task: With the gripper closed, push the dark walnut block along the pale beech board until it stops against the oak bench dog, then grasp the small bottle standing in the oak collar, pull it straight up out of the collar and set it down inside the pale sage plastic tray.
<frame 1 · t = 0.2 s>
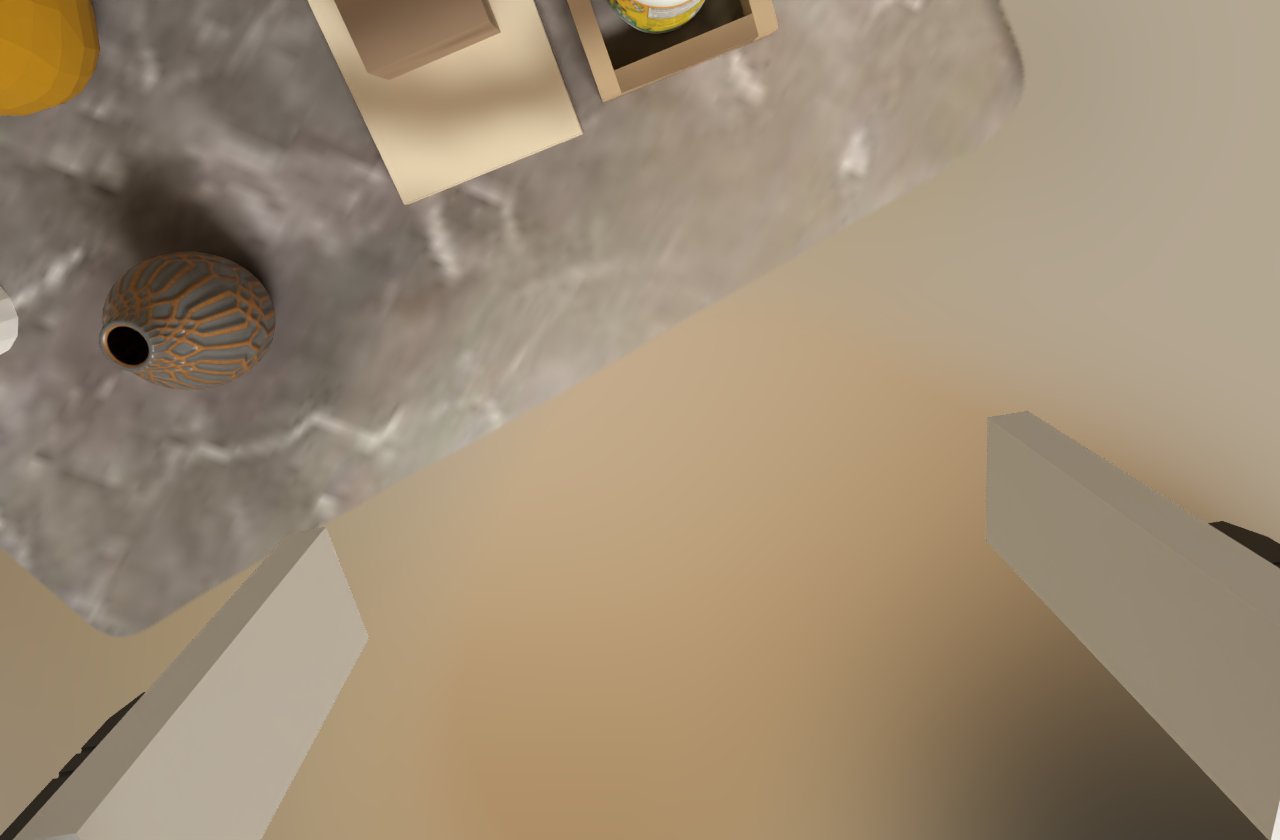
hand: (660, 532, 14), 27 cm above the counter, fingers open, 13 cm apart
vase: (234, 306, 39), on the counter
apple: (66, 23, 34), on the counter
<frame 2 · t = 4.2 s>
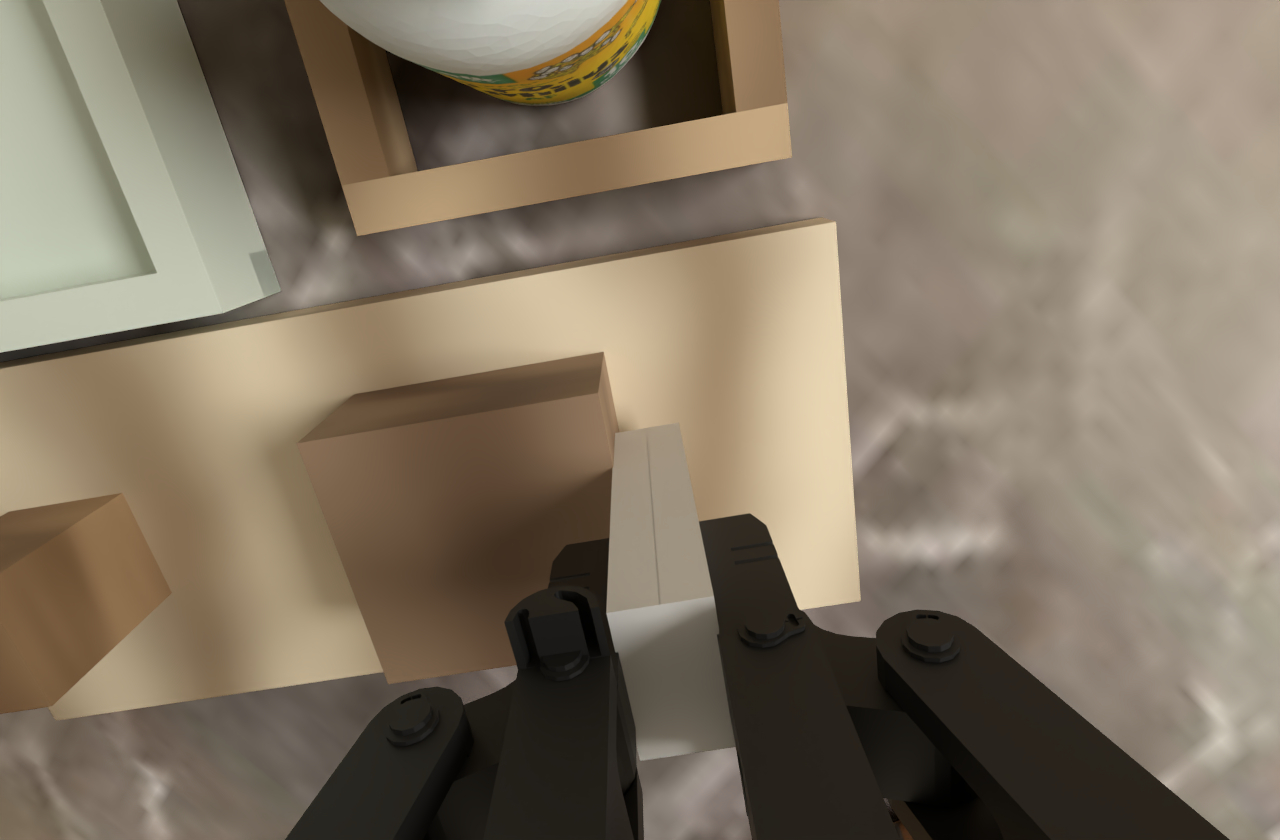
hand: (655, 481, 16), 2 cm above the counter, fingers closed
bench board: (407, 483, 18), on the counter
walnut block: (508, 486, 17), point 1 cm above the counter, touching gripper
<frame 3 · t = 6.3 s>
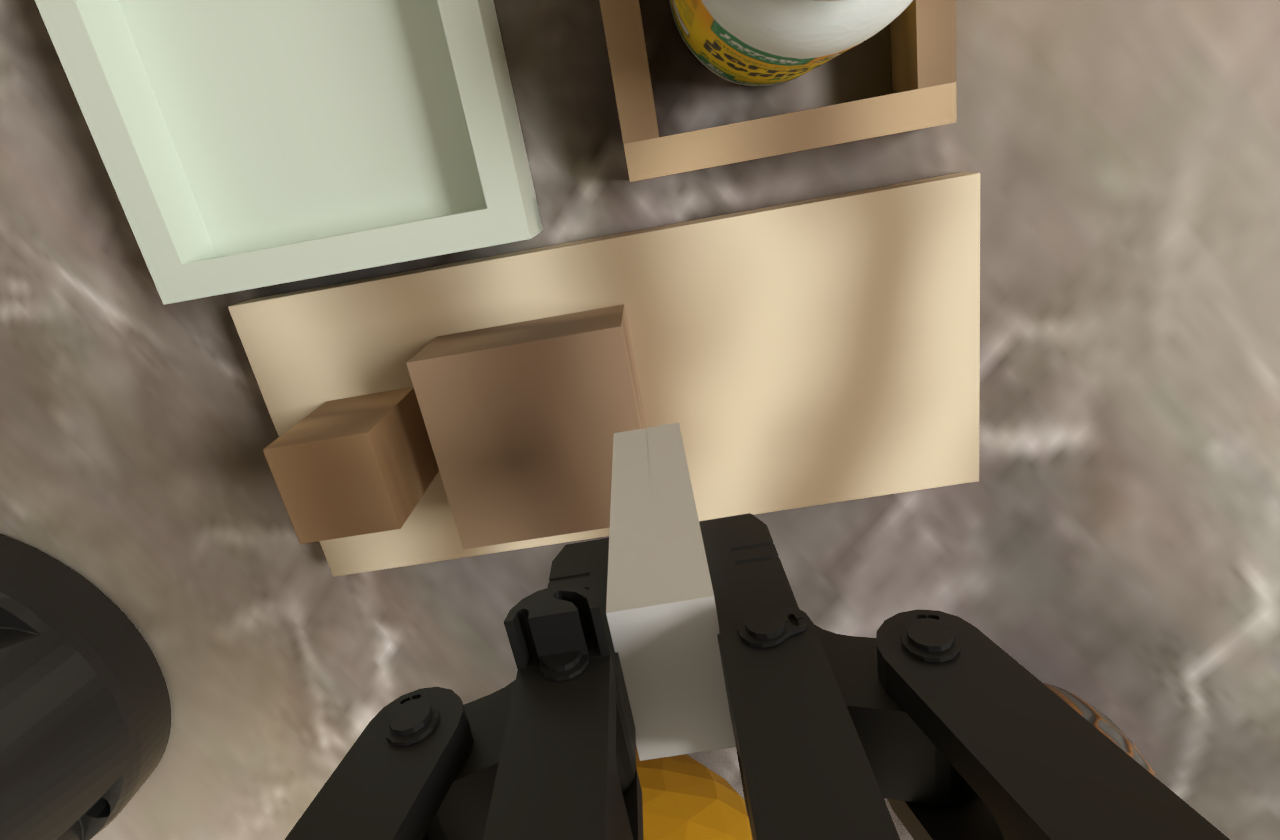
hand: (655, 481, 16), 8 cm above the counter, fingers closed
vase: (998, 714, 29), on the counter
tray: (318, 71, 20), on the counter
apple: (646, 759, 30), on the counter
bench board: (621, 386, 23), on the counter
walnut block: (550, 409, 22), point 1 cm above the counter, touching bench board
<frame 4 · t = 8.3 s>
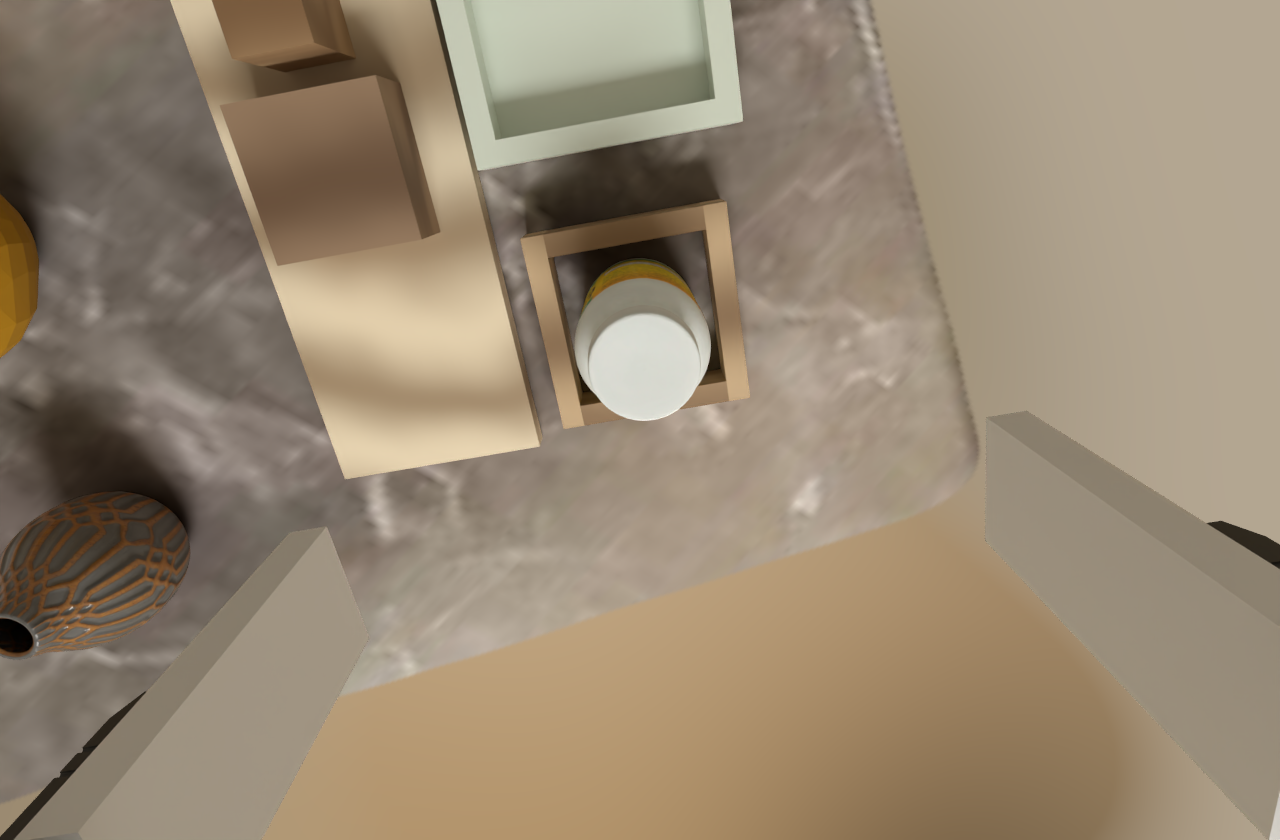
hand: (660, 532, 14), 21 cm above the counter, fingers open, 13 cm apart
supplement bottle: (639, 311, 33), resting in oak collar
vase: (148, 528, 37), on the counter
tray: (585, 5, 28), on the counter
apple: (9, 247, 31), on the counter
oak collar: (639, 312, 33), on the counter
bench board: (379, 225, 31), on the counter
walnut block: (353, 173, 29), point 1 cm above the counter, touching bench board
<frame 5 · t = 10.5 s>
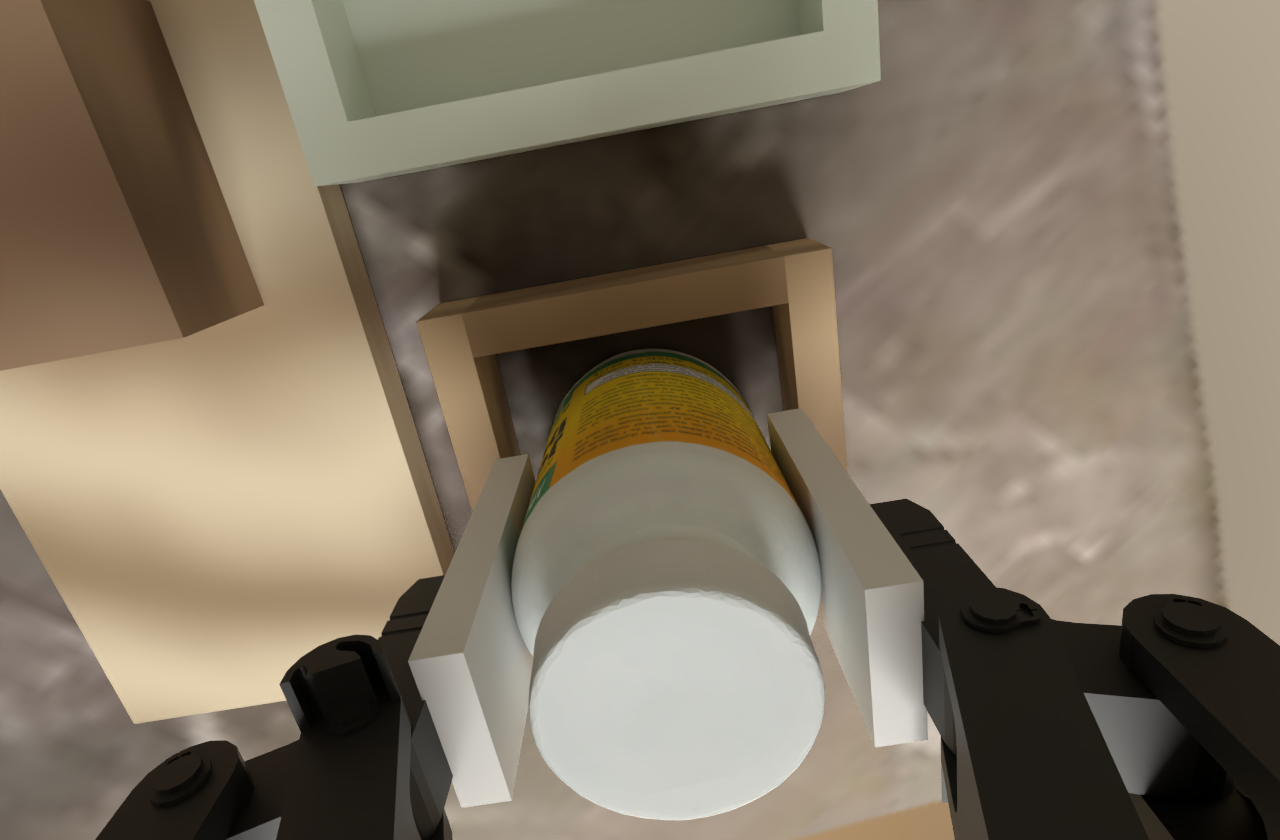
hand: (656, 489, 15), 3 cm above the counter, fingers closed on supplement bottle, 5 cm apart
supplement bottle: (652, 438, 18), resting in oak collar, touching gripper
oak collar: (652, 440, 18), on the counter
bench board: (158, 289, 16), on the counter
walnut block: (75, 190, 14), point 1 cm above the counter, touching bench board
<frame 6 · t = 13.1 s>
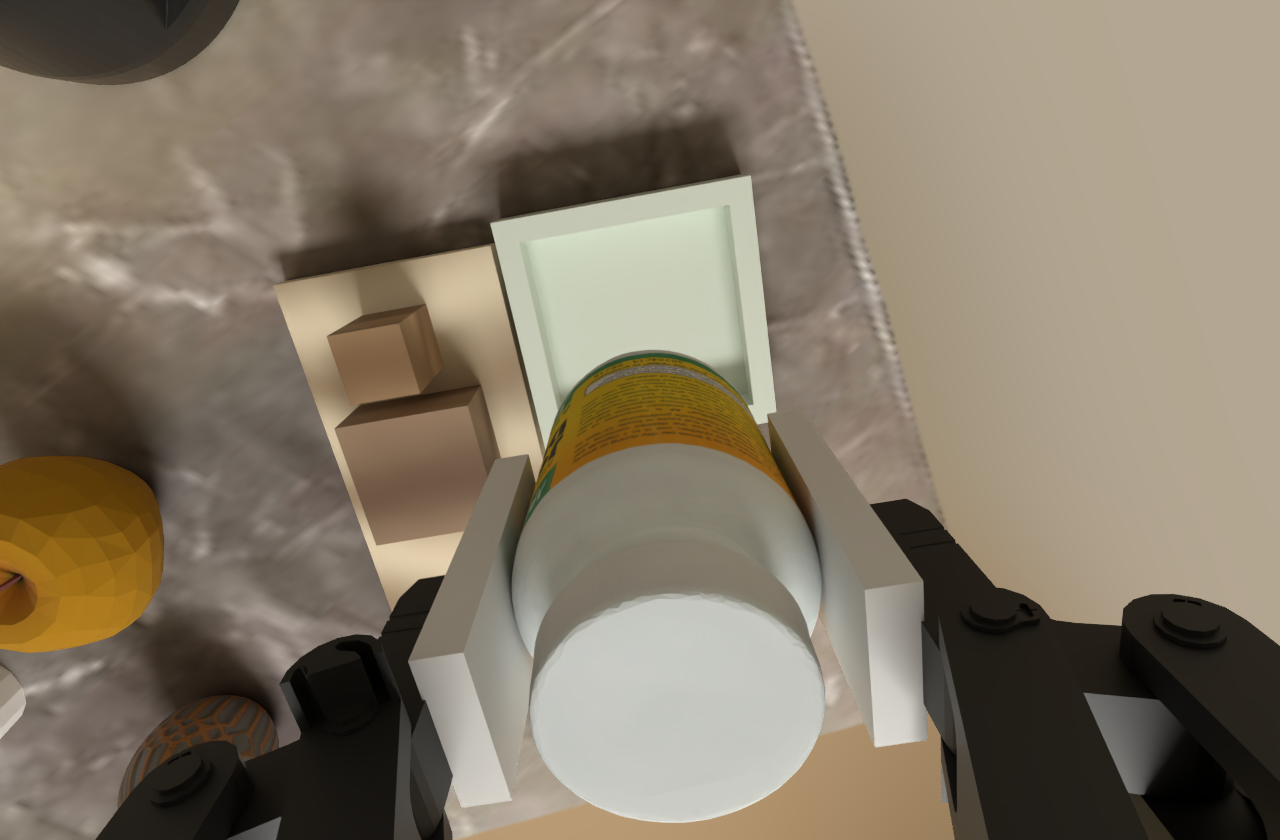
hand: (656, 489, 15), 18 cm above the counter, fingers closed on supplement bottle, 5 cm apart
supplement bottle: (652, 439, 18), point 15 cm above the counter, touching gripper
vase: (239, 718, 41), on the counter
tray: (640, 315, 33), on the counter
apple: (131, 499, 36), on the counter
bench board: (455, 482, 36), on the counter
walnut block: (437, 451, 34), point 1 cm above the counter, touching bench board
when the fingers open (5 cm above the counter, at t = 15.7 s): supplement bottle drops 2 cm, resting on tray.
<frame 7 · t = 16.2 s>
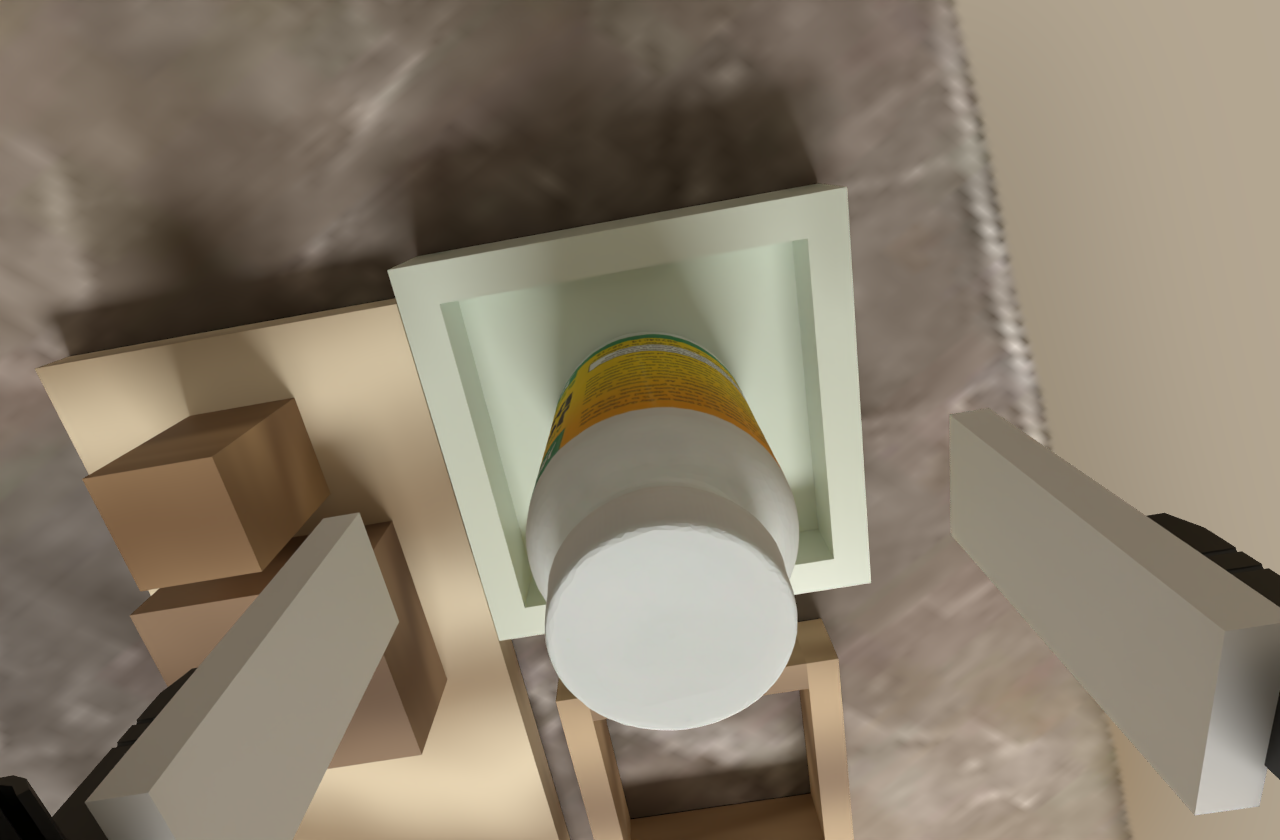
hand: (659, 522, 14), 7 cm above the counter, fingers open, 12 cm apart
supplement bottle: (650, 415, 20), point 1 cm above the counter, touching tray
tray: (649, 409, 20), on the counter
oak collar: (707, 737, 25), on the counter
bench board: (365, 652, 23), on the counter
walnut block: (328, 619, 21), point 1 cm above the counter, touching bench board
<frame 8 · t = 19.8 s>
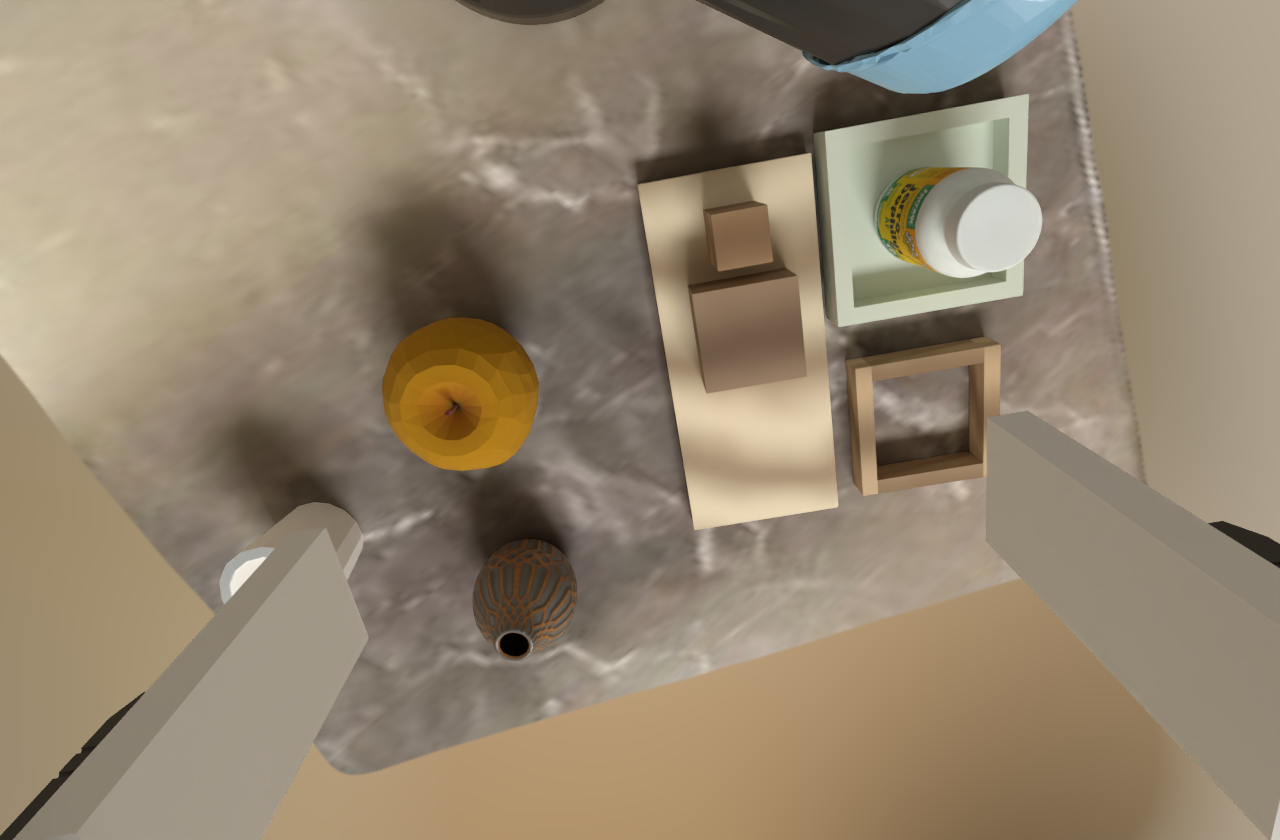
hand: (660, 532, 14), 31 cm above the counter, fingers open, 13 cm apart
supplement bottle: (915, 213, 41), point 1 cm above the counter, touching tray
vase: (532, 564, 50), on the counter
tray: (911, 213, 41), on the counter
apple: (480, 369, 44), on the counter
oak collar: (916, 412, 46), on the counter
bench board: (743, 355, 44), on the counter
white cylinder: (324, 535, 49), on the counter
walnut block: (742, 324, 42), point 1 cm above the counter, touching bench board
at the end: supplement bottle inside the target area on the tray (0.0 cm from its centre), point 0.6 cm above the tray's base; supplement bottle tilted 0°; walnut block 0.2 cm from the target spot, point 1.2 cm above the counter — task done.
